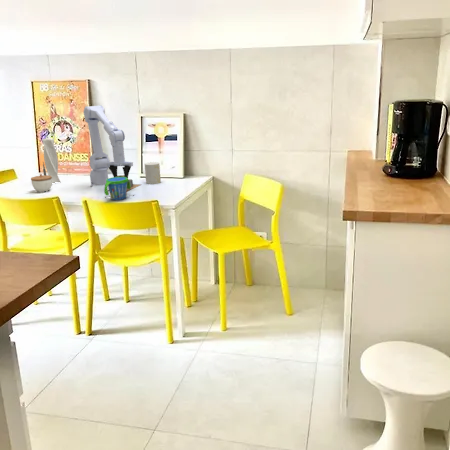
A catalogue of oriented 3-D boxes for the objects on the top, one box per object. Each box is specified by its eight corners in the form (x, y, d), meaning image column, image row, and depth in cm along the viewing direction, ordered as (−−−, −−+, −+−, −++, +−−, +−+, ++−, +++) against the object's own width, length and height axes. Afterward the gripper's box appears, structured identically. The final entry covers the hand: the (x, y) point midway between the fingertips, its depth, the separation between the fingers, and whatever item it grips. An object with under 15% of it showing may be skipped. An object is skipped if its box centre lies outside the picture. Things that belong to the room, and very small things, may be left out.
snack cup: (112, 203, 237) (110, 182, 234) (99, 200, 244) (97, 180, 241) (137, 196, 248) (135, 177, 245) (125, 194, 255) (123, 175, 252)
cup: (158, 186, 271) (156, 164, 267) (144, 186, 272) (142, 164, 269) (162, 183, 278) (161, 162, 275) (149, 183, 280) (147, 162, 276)
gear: (122, 187, 264) (121, 181, 263) (123, 185, 270) (122, 179, 269) (132, 187, 265) (131, 181, 264) (133, 185, 270) (132, 178, 269)
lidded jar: (57, 189, 273) (55, 172, 270) (44, 193, 264) (42, 176, 261) (41, 188, 277) (39, 172, 274) (28, 192, 267) (26, 175, 264)
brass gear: (113, 183, 258) (113, 176, 257) (119, 181, 263) (118, 175, 262) (123, 184, 257) (122, 177, 256) (128, 182, 262) (127, 175, 261)
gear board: (106, 193, 258) (105, 185, 257) (122, 185, 275) (121, 178, 274) (126, 194, 255) (126, 186, 254) (142, 186, 271) (141, 179, 270)
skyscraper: (57, 180, 297) (50, 133, 289) (63, 182, 292) (57, 134, 284) (44, 182, 291) (37, 135, 283) (50, 184, 286) (43, 136, 278)
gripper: (102, 155, 254) (105, 180, 258) (127, 155, 250) (130, 181, 254) (109, 152, 261) (111, 178, 265) (133, 153, 256) (136, 178, 260)
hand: (121, 179), depth 260 cm, fingers closed on brass gear, 5 cm apart
